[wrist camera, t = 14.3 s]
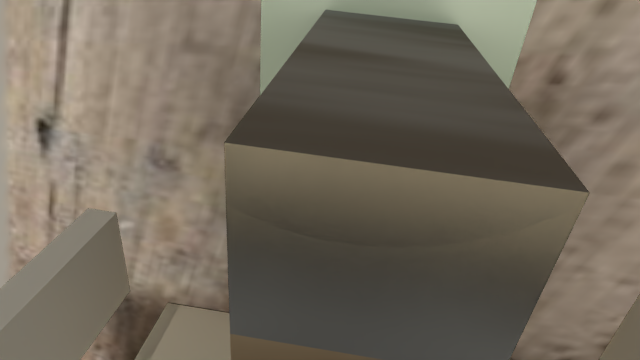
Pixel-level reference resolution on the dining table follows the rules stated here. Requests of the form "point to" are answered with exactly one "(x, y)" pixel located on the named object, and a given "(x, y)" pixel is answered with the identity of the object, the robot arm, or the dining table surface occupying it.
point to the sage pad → (409, 3)
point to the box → (389, 201)
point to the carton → (188, 335)
